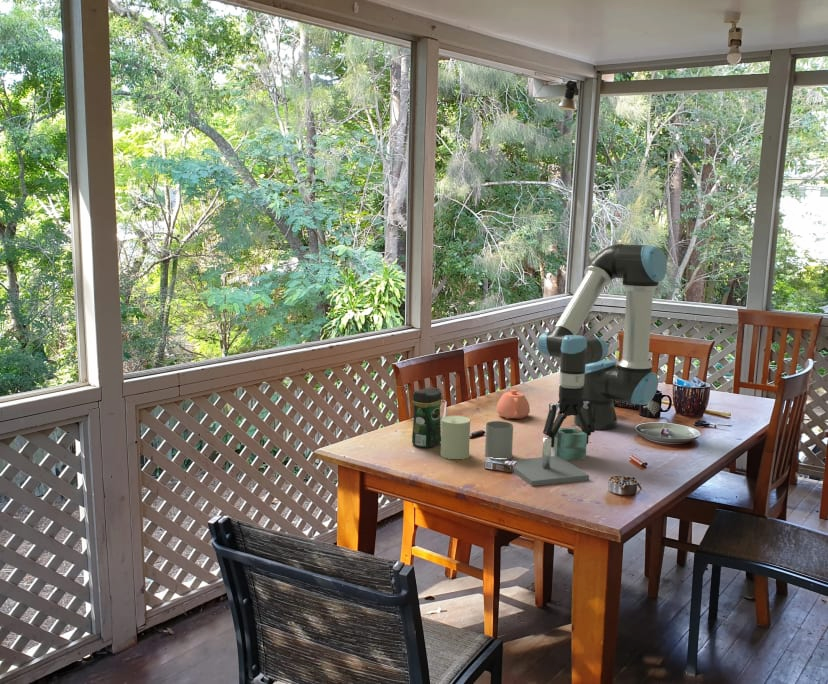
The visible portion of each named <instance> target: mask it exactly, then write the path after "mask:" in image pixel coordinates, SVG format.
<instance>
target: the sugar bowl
mask: <svg viewBox="0 0 828 684" xmlns="http://www.w3.org/2000/svg"><path fill="white" fill-rule="evenodd" d="M495 410H496V413H498V415H499V416H500V417H503V418H504V419H506V420H509V419H518V420H523V419H524V418H526V417H527V416H528V415H529V414H530V412H531V409H530V404H529V401H528V399H527V397H526V396H525V394H523V393H522V392H518V390H517V389H510V391H506V392H504V393H503V394H502V395H501V397H500V398H499V400H498V401H497V403H496V409H495Z"/></svg>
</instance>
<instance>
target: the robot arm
mask: <svg viewBox="0 0 828 684" xmlns="http://www.w3.org/2000/svg"><path fill="white" fill-rule="evenodd" d="M667 266H668V265H667V257H666V255H665V253H664V251H663V250H662V249H661V248H660V247H658V246H655V245H649V244H624V243H616V244H612V245H610V246H607V247H606V248H604V249H602V250H601V251H600V252H598V253H597V254H596V255H595V256H594V257H592V259H591V260H590V261H589V263H588V264H587V266H586V267H585V268H584V271H583V273H584V274H583V275H584V277H583V278H582V280H581V281H580V283H579V284H578V287H577V288H576V290H575V291H574V293H573V295H572V297H571V298H570V300H569V301H568V304H567V305H566V306H565V308H564V310H563V311H562V313H561V315H560V317H559V318H558V320H557V322H556V324H554V327H553V328H552V330H551V332H549V331H548V332H543V333H542V334H540V335H539V337H538V339H537V350H538V352H539V353H540V354H541V355H543V356H548V357H550V358H551V357H552V358H553V357H554V358H560V368H559V382H558V384H560V385H559V386H558V401H557V403H549V404H548V414H547V418H546V421H545V424H544V427H543V428H544V429H543V431H542V433H543V435H545V436H546V437H551V438H552V440H551V456H557V437H555V436H556V434H557V432H558V430H559V428H561V426H562V425H563V422H564V421H565V420H566V419H567V417H570V416H574V418H573V419H574V420H573V423H574V425H576V426H578V427H580V429H581V431H582V432H584V433H586V434H587V445H588V444H589V438H590V437H589V436H591V435H592V433H595V431H596V430H613V429H615V428H616V427H617V426H618V417H617V413H616V410H615V405H614V401H619V402H625V403H629V404H632V405H640V406H641V405H648V404H649V403H651V401H652V399H654V397H655V395H656V393H657V390H658V385H659V377H658V374H657V373H656V372H654V371H653V364H652V363H651V362H650V361H649V355H650V353H649V352H650V341H651V340H650V338H651V328H652V326H651V325H652V312H653V311H652V310H653V297H654V291H655V290H656V289H657V288H658V287H659V282H662V281H663V280H664V278H665V277H666V274H667V269H668V267H667ZM614 279H621V280H622V286H623V287H624V288H625V290H626V293H625V294H626V297H625V310H624V311H625V312H624V313H625V314H624V327H623V329H624V330H623V339H622V340H623V342H622V357H621V360H620V361H618V362H616V360H610V359H609V360H608V359H606V357H607V356H608V354H609V345H608V344H607V342H606V341H605V340H604V339H603V338H600V337H591V338H587V337H586V336H584V335H579V334H578V332H579V331H580V329H581V328H582V325H583V324H584V322H585V320H586V319H587V317H588V315H589V313H590V312H591V310H592V308H593V307H594V304H595V303H596V302H597V300H598V299H599V297H600V295H601V293H602V291H603V290H604V288H605V287H607V286H609V285H610V284H611V282H612V280H614ZM577 334H578V335H577ZM557 411H558V412H557ZM556 415H557V416H556Z"/></svg>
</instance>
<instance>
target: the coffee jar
mask: <svg viewBox="0 0 828 684" xmlns="http://www.w3.org/2000/svg"><path fill="white" fill-rule="evenodd" d="M441 404H442V392H441V390H440V389H439V388H437V387H431V386H428V387H426V388H422V389H418V390H415V391H413V393H412V405H413V420H412V421H413V423H412V433H411V434H412V436H411V443H412V445H414V446H415V447H417V446H418V447H417V448H421V447H422V448H431V447H435V446H436V445H439V444H441Z"/></svg>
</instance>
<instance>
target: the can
mask: <svg viewBox="0 0 828 684" xmlns="http://www.w3.org/2000/svg"><path fill="white" fill-rule="evenodd" d="M440 428H441V442H440V453H439V456H440V455H441V456H442V457H441V456H440V457H441V458H443V457H444V458H443V459H446V458H448V459H447V460H450V459H462V460H466V459H468V458H470V456H471V454H470V439H471V438H470V436H471V433H470V432H471V419H470V418H469V417H466V416H462V415H447V416H443V417H440ZM465 458H466V459H465Z"/></svg>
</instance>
